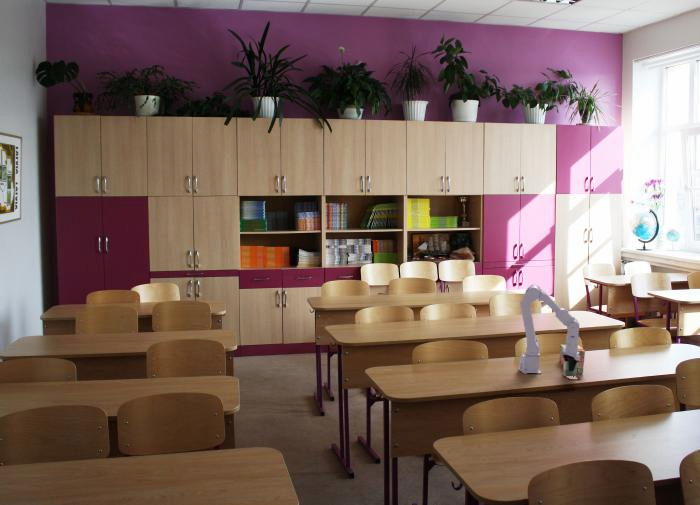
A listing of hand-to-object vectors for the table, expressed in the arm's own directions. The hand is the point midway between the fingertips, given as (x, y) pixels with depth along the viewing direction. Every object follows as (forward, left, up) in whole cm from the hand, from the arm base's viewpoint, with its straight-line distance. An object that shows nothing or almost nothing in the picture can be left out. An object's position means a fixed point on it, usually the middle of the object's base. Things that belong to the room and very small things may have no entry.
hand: (569, 370), depth 352 cm
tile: (0, 0, -3) cm, 3 cm away
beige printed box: (+8, +14, -3) cm, 17 cm away
